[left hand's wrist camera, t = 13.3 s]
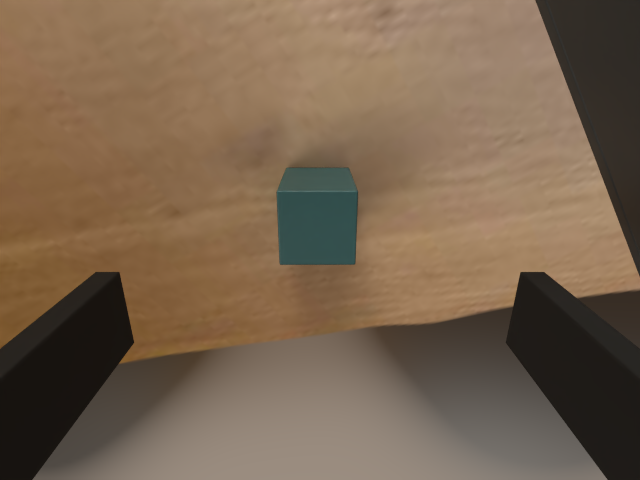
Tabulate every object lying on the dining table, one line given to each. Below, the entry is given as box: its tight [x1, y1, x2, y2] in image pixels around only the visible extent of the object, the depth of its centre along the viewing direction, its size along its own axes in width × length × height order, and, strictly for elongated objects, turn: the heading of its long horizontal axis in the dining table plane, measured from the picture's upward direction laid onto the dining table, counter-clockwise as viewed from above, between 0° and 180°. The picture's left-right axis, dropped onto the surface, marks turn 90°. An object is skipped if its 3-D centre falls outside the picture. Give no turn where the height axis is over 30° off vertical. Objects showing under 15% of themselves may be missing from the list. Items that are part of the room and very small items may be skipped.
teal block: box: [277, 168, 358, 265], centre depth 22 cm, size 4×4×6 cm
